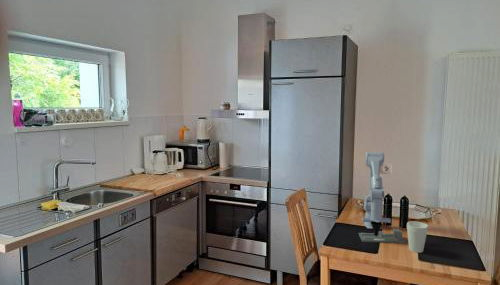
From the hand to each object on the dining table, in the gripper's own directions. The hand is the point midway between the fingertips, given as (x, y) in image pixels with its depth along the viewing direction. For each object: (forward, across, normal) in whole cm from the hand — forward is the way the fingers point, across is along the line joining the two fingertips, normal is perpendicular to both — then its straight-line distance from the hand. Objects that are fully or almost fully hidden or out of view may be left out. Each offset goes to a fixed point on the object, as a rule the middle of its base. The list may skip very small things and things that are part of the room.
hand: (375, 235), depth 186 cm
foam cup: (+2, +16, -13) cm, 21 cm away
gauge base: (+2, +3, 0) cm, 4 cm away
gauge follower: (+1, +3, -1) cm, 3 cm away
